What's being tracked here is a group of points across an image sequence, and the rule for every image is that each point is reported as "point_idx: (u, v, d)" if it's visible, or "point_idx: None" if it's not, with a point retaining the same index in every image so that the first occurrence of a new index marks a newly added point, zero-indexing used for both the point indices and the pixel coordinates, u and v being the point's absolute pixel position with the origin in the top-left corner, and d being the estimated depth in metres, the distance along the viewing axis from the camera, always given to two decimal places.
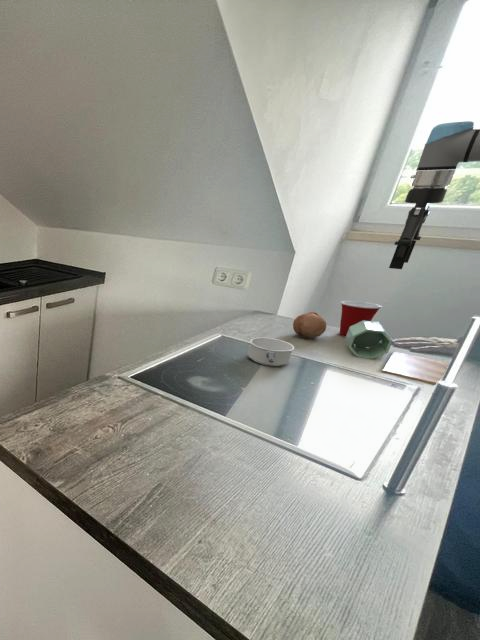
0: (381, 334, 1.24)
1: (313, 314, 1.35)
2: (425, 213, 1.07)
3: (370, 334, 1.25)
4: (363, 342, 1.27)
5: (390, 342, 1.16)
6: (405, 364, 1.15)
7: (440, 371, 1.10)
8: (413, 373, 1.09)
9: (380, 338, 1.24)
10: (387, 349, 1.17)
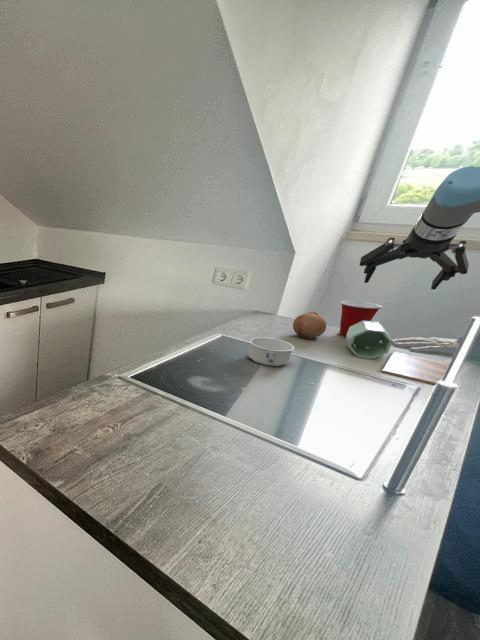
0: (381, 334, 1.24)
1: (313, 314, 1.35)
2: None
3: (370, 334, 1.25)
4: (363, 342, 1.27)
5: (390, 342, 1.16)
6: (405, 364, 1.15)
7: (440, 371, 1.10)
8: (413, 373, 1.09)
9: (380, 338, 1.24)
10: (387, 349, 1.17)
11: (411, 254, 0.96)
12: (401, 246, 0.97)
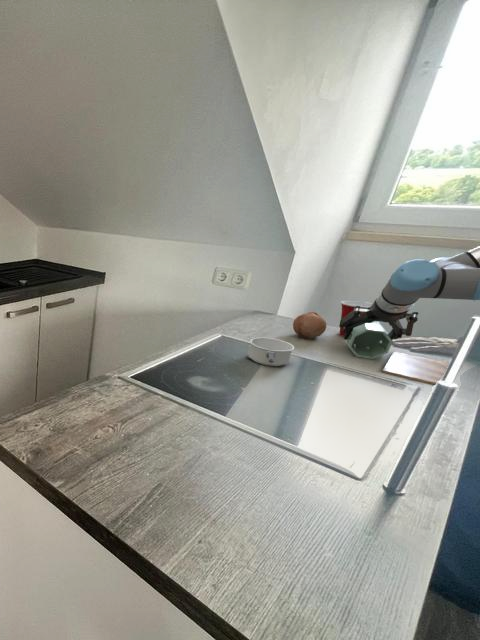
0: (381, 334, 1.24)
1: (313, 314, 1.34)
2: None
3: (370, 334, 1.25)
4: (363, 342, 1.27)
5: (390, 342, 1.16)
6: (405, 364, 1.15)
7: (440, 371, 1.10)
8: (413, 373, 1.09)
9: (380, 338, 1.24)
10: (387, 349, 1.17)
11: (375, 319, 1.13)
12: (366, 313, 1.14)
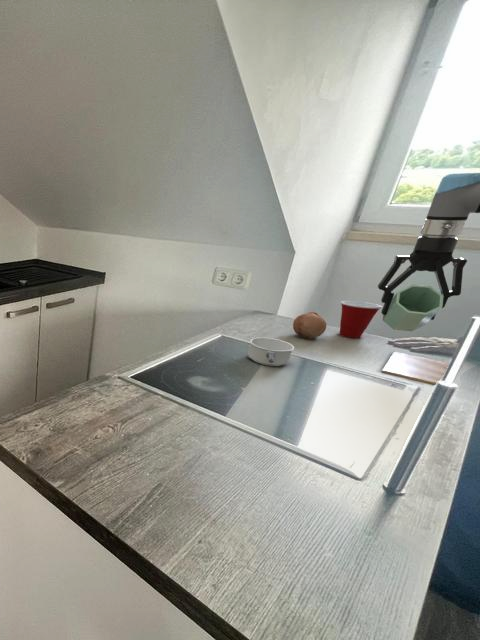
0: None
1: (313, 314, 1.35)
2: None
3: None
4: None
5: (441, 296, 1.05)
6: (405, 364, 1.15)
7: (440, 371, 1.10)
8: (413, 373, 1.09)
9: None
10: (440, 303, 1.05)
11: (421, 263, 1.07)
12: (410, 257, 1.08)
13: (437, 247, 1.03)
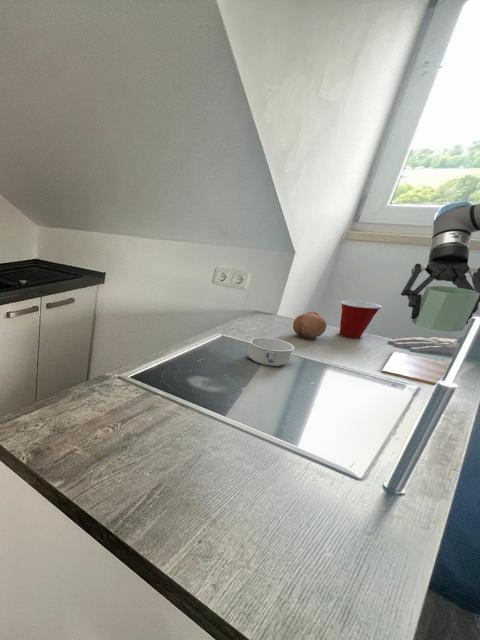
0: None
1: (313, 314, 1.35)
2: None
3: None
4: None
5: (473, 290, 1.02)
6: (405, 364, 1.15)
7: (440, 371, 1.10)
8: (413, 373, 1.09)
9: None
10: (476, 292, 1.00)
11: (441, 267, 1.09)
12: (427, 265, 1.11)
13: (453, 250, 1.08)
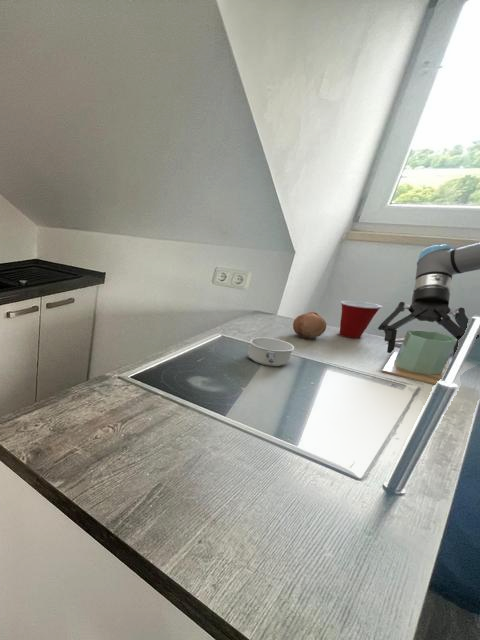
0: None
1: (313, 314, 1.35)
2: None
3: None
4: None
5: (451, 336, 1.07)
6: None
7: None
8: (413, 373, 1.09)
9: None
10: (454, 339, 1.06)
11: (423, 308, 1.14)
12: (411, 305, 1.16)
13: (435, 293, 1.13)
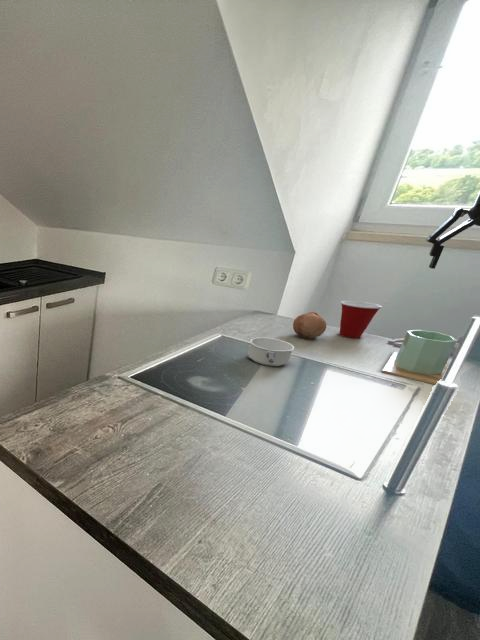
0: None
1: (313, 314, 1.34)
2: None
3: None
4: None
5: (451, 336, 1.07)
6: None
7: None
8: (413, 373, 1.09)
9: None
10: (454, 339, 1.06)
11: None
12: (471, 211, 1.06)
13: None
